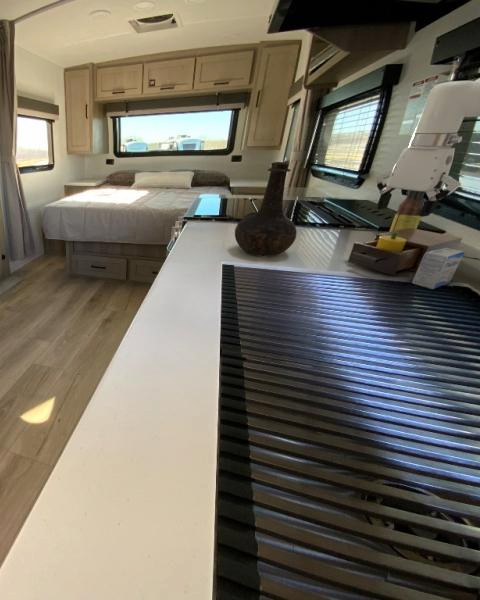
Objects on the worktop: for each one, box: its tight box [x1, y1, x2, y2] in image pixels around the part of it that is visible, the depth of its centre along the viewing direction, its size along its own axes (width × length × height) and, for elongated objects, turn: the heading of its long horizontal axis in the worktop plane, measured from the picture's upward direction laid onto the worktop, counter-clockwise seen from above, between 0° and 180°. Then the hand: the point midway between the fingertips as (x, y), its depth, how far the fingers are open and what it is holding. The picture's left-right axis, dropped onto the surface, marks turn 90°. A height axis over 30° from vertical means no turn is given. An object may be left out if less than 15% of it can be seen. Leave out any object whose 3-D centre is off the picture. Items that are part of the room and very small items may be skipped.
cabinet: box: [374, 228, 463, 273], centre depth 97 cm, size 16×13×8 cm
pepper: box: [376, 232, 406, 253], centre depth 93 cm, size 6×6×8 cm
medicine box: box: [411, 248, 466, 290], centre depth 83 cm, size 8×4×9 cm, turn 114°
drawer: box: [347, 239, 424, 276], centre depth 93 cm, size 19×11×6 cm, turn 111°
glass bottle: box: [234, 161, 298, 257], centre depth 104 cm, size 18×18×28 cm
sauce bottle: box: [388, 190, 426, 232], centre depth 107 cm, size 7×6×20 cm
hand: (401, 212), depth 89 cm, fingers open, 9 cm apart
